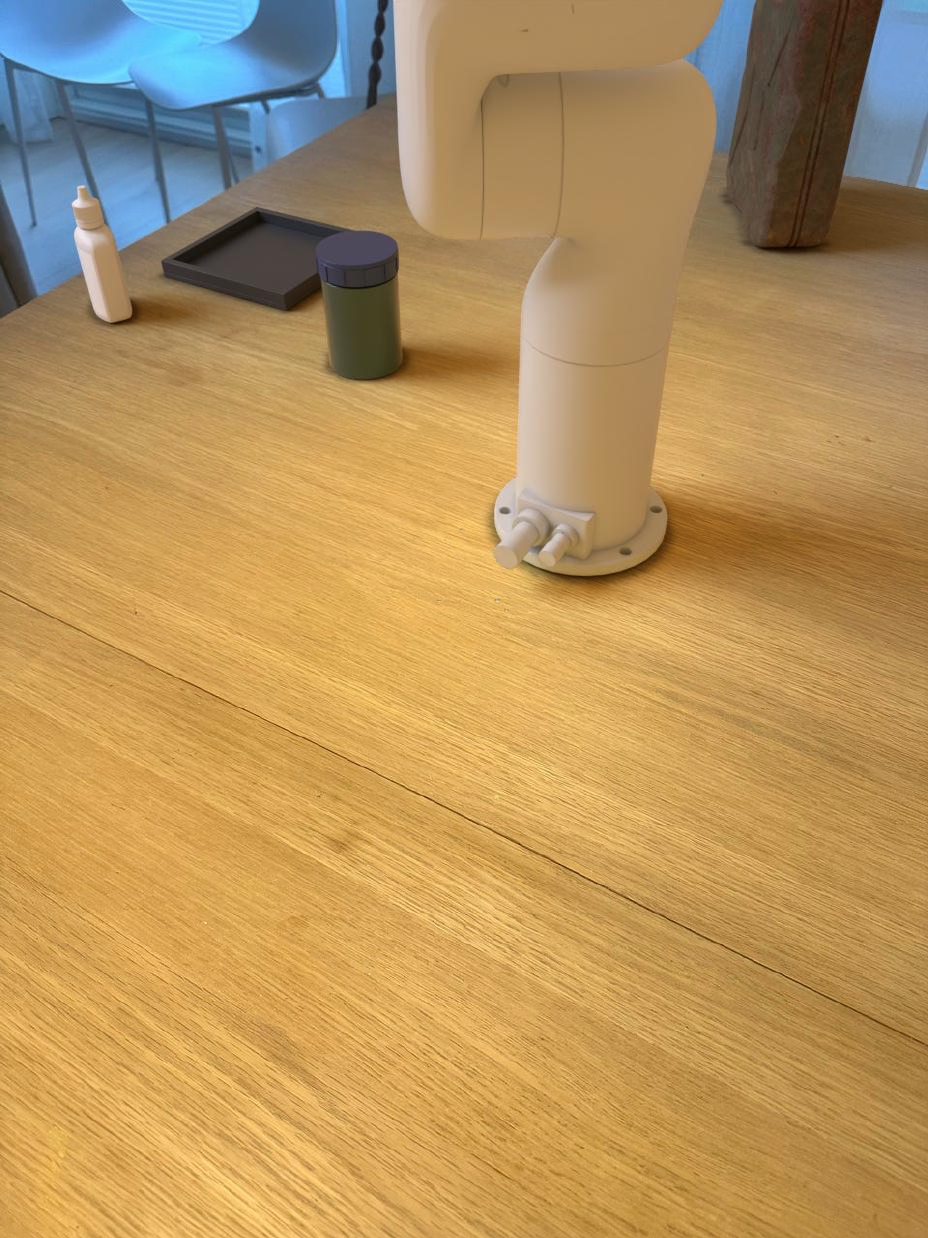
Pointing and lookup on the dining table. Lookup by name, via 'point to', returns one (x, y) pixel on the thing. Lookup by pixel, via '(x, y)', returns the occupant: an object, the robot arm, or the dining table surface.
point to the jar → (363, 329)
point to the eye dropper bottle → (100, 260)
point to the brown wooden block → (797, 115)
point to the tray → (256, 258)
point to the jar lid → (357, 258)
